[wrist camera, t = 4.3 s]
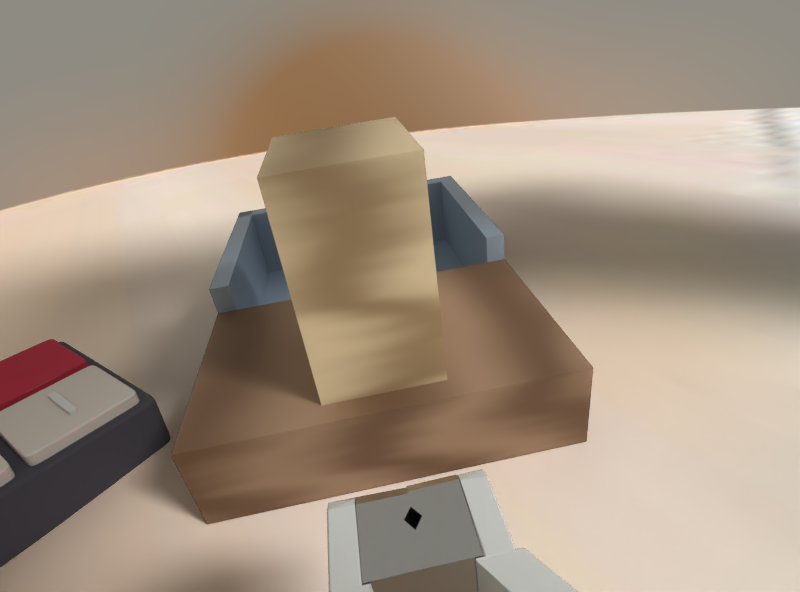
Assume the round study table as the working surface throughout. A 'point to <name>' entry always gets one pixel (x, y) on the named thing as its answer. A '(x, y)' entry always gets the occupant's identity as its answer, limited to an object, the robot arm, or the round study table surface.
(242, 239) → the tray
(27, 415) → the calculator
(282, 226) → the oak block
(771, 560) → the round study table surface
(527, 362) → the walnut plate
